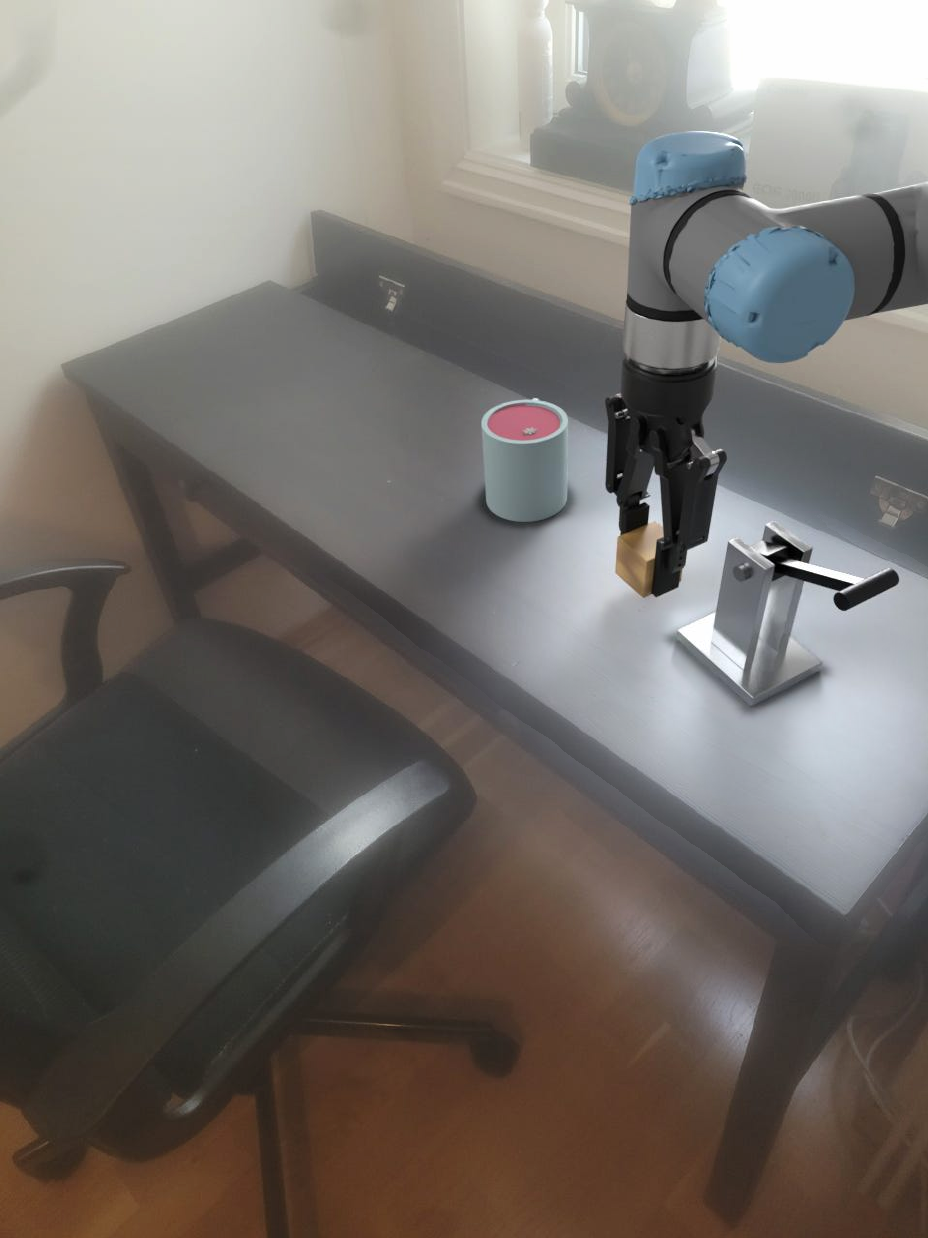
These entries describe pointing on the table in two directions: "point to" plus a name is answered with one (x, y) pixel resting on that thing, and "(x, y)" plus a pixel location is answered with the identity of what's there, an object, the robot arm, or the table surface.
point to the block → (638, 557)
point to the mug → (525, 459)
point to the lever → (828, 577)
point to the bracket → (754, 622)
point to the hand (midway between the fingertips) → (647, 574)
